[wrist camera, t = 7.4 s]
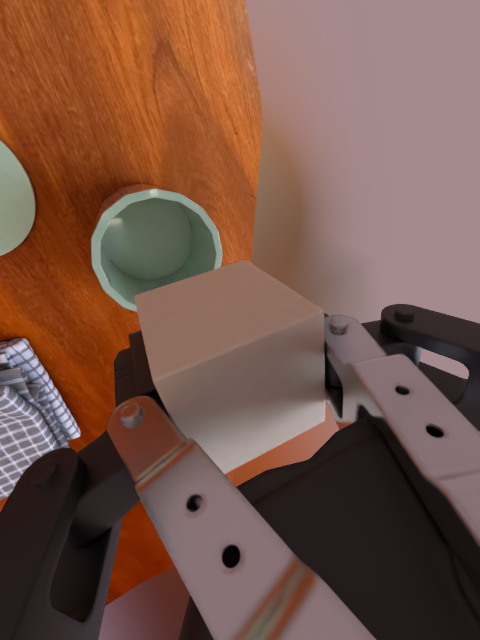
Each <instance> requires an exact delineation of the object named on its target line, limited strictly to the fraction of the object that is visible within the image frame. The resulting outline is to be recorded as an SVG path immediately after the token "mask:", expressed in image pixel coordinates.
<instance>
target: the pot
mask: <svg viewBox="0 0 480 640" xmlns="http://www.w3.org/2000/svg"><path fill="white" fill-rule="evenodd" d="M222 254H223V252H222V247H221V242H220V238H219V233H218V230H217V228H216V226H215V225H214V223H213V222H212V220H211V219H210V217H209V216H208V214H207V213H206V211H205V210H204V209H203V208H202V207H200V206H199V205H197V204H196V203H194V202H193V201H191V200H190V199H189V198H187V197H186V196H184V195H183V194H181V193H178V192H175V191H172V190H169V189H166V188H163V187H158V186H153V185H148V184H143V183H142V184H136V185H130V186H127V187H123V188H120V189H119V190H117V191H116V192H115V193H113V194H112V195H111V196H110V197H109V198H107V199H106V200H105V201H104V202H103V204H102V206H101V208H100V210H99V212H98V215H97V217H96V219H95V222H94V227H93V232H92V236H91V265H92V268H93V270H94V272H95V274H96V276H97V278H98V280H99V282H100V284H101V286H102V288H103V290H104V291H105V292H106V293H107V294H108V295H109V296H111V297H112V298H113V299H114V300H115V301H116V302H117V303H119V304H120V305H121V306H122V307H124V308H126V309H129V310H132V311H135V312H137V308H136V304H135V299H134V296H135V295H138V294H141V293H144V292H147V291H150V290H153V289H156V288H159V287H162V286H165V285H168V284H171V283H175V282H178V281H181V280H184V279H187V278H190V277H193V276H196V275H199V274H202V273H205V272H208V271H211V270H215V269H218V268H220V267H221V260H222Z"/></svg>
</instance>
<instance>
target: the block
mask: <svg viewBox="0 0 480 640" xmlns="http://www.w3.org/2000/svg"><path fill="white" fill-rule="evenodd" d="M134 299H135V304H136V308H137V313H138V317H139V322H140V326H141V331H142V335H143V340H144V344H145V349H146V353H147V358H148V362H149V367H150V371H151V376H152V381H153V383H154V385H155V387H156V389H157V391H158V394H159V396H160V398H161V400H162V402H163V404H164V406H165V408H166V410H167V412H168V414H169V417H170V419H171V420H172V421H173V423H174V424H175V425H176V426H177V427H178V429H179V430H180V431H181V432H182V433H183V434H184V436H185V437H186V438H187V439H189V438H192V439H194V440H195V441H196V442H197V443H198V444H199V446H200V447H201V448H202V449H203V450H204V451H205V452H206V454H207V455H208V456H209V457H210V458H211V459H212V460H213V462H214V463H215V464H216V465H217V466H218V467H219V468H220V470H221V471H222V472H223V473H224V474H226V473H228V472H229V471H231V470H233V469H235V468H237V467H239V466H240V465H243V464H244V463H246V462H248V461H250V460H252V459H254V458H256V457H258V456H259V455H262V454H263V453H265V452H267V451H269V450H271V449H273V448H275V447H277V446H278V445H280V444H282V443H284V442H286V441H288V440H290V439H292V438H294V437H296V436H297V435H299V434H301V433H303V432H305V431H307V430H309V429H311V428H312V427H314V426H316V425H318V424H320V423H322V422H324V421H325V348H324V311H323V310H322V309H321V308H319V307H317V306H316V305H314V304H313V303H312V302H310V301H308V300H307V299H305V298H304V297H302V296H301V295H299V294H298V293H296V292H294V291H293V290H291V289H290V288H288V287H287V286H285V285H284V284H282V283H281V282H279V281H278V280H276V279H275V278H273V277H271V276H270V275H268V274H267V273H265V272H264V271H262V270H261V269H259V268H258V267H256V266H254V265H253V264H251V263H250V262H248V261H247V260H242V261H239V262H236V263H233V264H230V265H227V266H224V267H221V268H218V269H215V270H211V271H208V272H205V273H202V274H199V275H196V276H193V277H190V278H187V279H184V280H181V281H178V282H175V283H171V284H168V285H165V286H162V287H159V288H156V289H153V290H150V291H147V292H144V293H141V294H138V295H135V296H134Z"/></svg>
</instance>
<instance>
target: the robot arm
mask: <svg viewBox="0 0 480 640" xmlns="http://www.w3.org/2000/svg"><path fill="white" fill-rule="evenodd" d="M129 340H130V348H128V349H125V350H122V351H119V353H118V355H117V357H116V359H115V361H114V371H115V373H114V374H115V397H116V408H115V409H114V410H113V411H112V413H111V414H110V416H109V418H108V420H107V423H106V431H105V432H104V433H103V434H102V435H101V436H100V437H99V438H97V439H96V440H95V441H93V442H92V443H91V444H89V445H88V446H86V447H85V448H83V449H82V450H81V451H79V452H78V453H76V452H75V451H74V450H73V449H71V448H58V449H55V450H52V451H50V452H48V453H46V454H44V455H43V456H41V457H40V458H38V459H37V460H36V461H34V462H33V463H32V464H31V465H30V466H29V467H28V468H27V469H26V470H25V471H24V473H23V474H22V475H21V477H20V478H19V480H18V481H17V483H16V485H15V487H14V489H13V491H12V492H11V494H10V496H9V498H8V500H7V502H6V503H5V505H4V507H3V509H2V511H1V513H0V640H98V637H99V633H100V628H101V623H102V618H103V613H104V608H105V603H106V599H107V594H108V589H109V584H110V579H111V574H112V569H113V564H114V559H115V555H116V550H117V545H118V540H119V535H120V530H121V525H122V520H123V516H124V515H125V514H126V513H127V512H129V511H130V510H131V509H132V508H133V507H134V506H135V505H136V504H137V503H139V502H140V501H141V502H142V503H143V505H144V507H145V509H146V511H147V513H148V515H149V517H150V519H151V521H152V522H153V524H154V526H155V528H156V530H157V532H158V534H159V536H160V538H161V540H162V542H163V543H164V545H165V547H166V549H167V551H168V553H169V555H170V557H171V559H172V561H173V562H174V564H175V566H176V568H177V570H178V572H179V574H180V576H181V578H182V580H183V581H184V583H185V585H186V587H187V589H188V591H189V593H190V597H189V602H188V605H187V609H186V613H185V617H184V620H183V624H182V628H181V632H180V636H179V639H178V640H480V433H479V432H480V324H479V323H476V322H472V321H468V320H465V319H461V318H457V317H454V316H450V315H446V314H442V313H439V312H435V311H431V310H428V309H424V308H420V307H416V306H413V305H407V304H395V305H390V306H387V307H385V308H384V309H383V310H382V313H381V320H379V321H373V322H367V323H361V324H360V323H359V322H358V321H357V320H356V319H354V318H352V317H349V316H344V315H332V316H328V315H327V314H325V313H324V348H325V399H326V401H327V403H328V405H329V408H330V410H331V412H332V414H333V416H334V418H335V421H336V423H337V425H338V427H339V431H337V432H336V433H335V434H334V435H333V436H332V437H331V438H330V439H329V440H328V441H327V442H326V443H325V444H324V445H323V446H322V447H321V448H320V449H319V450H318V451H317V452H316V453H315V454H314V455H313V456H312V457H311V458H310V459H308V460H306V461H303V462H299V463H294V464H290V465H286V466H282V467H278V468H274V469H270V470H266V471H265V472H263V473H261V474H259V475H257V476H255V477H253V478H252V479H250V480H248V481H246V482H244V483H242V484H241V485H239V486H237V487H235V486H234V484H233V483H232V482H231V481H230V480H229V479H228V478H227V476H226V475H225V474H224V473H223V472H222V471H221V470H220V468H219V467H218V466H217V465H216V464H215V463H214V462H213V460H212V459H211V458H210V457H209V456H208V455H207V454H206V452H205V451H204V450H203V449H202V448H201V447H200V446H199V444H198V443H197V442H196V441H195V440H194V439H192V438H189V439H187V438H186V437H185V436H184V434H183V433H182V432H181V431H180V430H179V429H178V427H177V426H176V425H175V424H174V423H173V421H172V420H171V419H170V417H169V414H168V412H167V410H166V408H165V406H164V404H163V402H162V400H161V398H160V396H159V394H158V391H157V389H156V387H155V385H154V383H153V381H152V376H151V371H150V367H149V362H148V358H147V353H146V349H145V344H144V340H143V335H142V331H141V330H140V331H137V332H134V333H131V334H129ZM422 348H423V349H426V350H429V351H431V352H434V353H437V354H440V355H443V356H446V357H448V358H451V359H453V360H456V361H459V362H461V363H462V364H464V365H465V366H466V367H467V369H468V370H469V377H468V379H463V378H460V377H457V376H455V375H453V374H450V373H448V372H445V371H443V370H440V369H437V368H435V367H432V366H430V365H427V364H425V363H422V362H420V361H419V360H420V356H421V352H422ZM478 431H479V432H478Z"/></svg>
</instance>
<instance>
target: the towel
mask: <svg viewBox="0 0 480 640" xmlns="http://www.w3.org/2000/svg"><path fill="white" fill-rule="evenodd" d="M38 360H39V359H38V358H37V356H36V355H35V354H34V351H33V349H32V347H31V346H30V345H29V342H28V341H27V339H26V338H15V339H13V340H11V341H8V342H0V500H2V499H4V498H6V497H8V496H9V495H10V494H11V492H12V491H13V489H14V487H15V485H16V483H17V481H18V480H19V478H20V477H21V475H22V474H23V473H24V471H25V470H26V469H27V468H28V467H29V466H30V465H31V464H32V463H33V462H34V461H36V460H37V459H38V458H40V457H41V456H43V455H44V454H46V453H48V452H50V451H52V450H55V449H58V448H69V446H68V445H69V442H68V440H71V439H75V438H78V437H80V429H79V427H78V426H77V423H76V422H75V419H74V418H73V416H72V414H71V413H70V411H69V409H68V408H67V407H66V405H65V403H64V401H63V400H62V398H61V395H60V394H59V393H58V390H57V389H56V387H55V386H54V385H53V383H52V380H51V379H50V378H49V376H48V373H47V372H46V371H45V369H44V368H43V366H42V365H41V363H40V362H39V361H38Z"/></svg>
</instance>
